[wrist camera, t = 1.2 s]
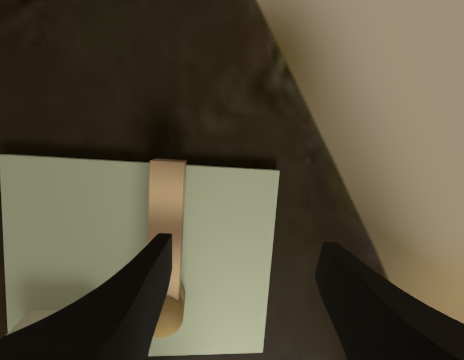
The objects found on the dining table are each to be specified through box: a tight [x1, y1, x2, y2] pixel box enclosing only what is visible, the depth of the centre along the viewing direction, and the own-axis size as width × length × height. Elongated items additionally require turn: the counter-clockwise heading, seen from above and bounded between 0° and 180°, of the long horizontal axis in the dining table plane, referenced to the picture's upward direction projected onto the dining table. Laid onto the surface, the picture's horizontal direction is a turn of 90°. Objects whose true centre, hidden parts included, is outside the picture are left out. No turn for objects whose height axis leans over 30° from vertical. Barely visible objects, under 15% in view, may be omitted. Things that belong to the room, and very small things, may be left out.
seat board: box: [0, 154, 280, 356], centre depth 25 cm, size 19×24×1 cm
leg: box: [148, 158, 186, 338], centre depth 23 cm, size 15×4×3 cm, turn 176°
